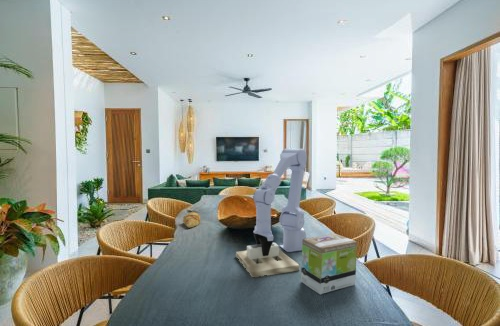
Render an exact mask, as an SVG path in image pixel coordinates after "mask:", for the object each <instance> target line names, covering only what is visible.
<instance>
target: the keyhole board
mask: <svg viewBox="0 0 500 326" xmlns="http://www.w3.org/2000/svg"><path fill="white" fill-rule="evenodd" d="M235 257H236V259H237V258H238V259H239V260H238V259H237V260H238V261H239V262H240V264H241V263H242V264H243V265H242V264H241V265H242V266H243V268H244V269H245V268H246V269H245V270H246V271H247V273H248V272H249V273H250V274H249V273H248V274H249V275H250V276H251V278H252V277H255V278H260V277H259V276H261V277H265V276H264V275H267V276H272V275H278V274H279V275H280V274H284V273H292V272H299V271H300V264H299V263H298V262H296V261H295V260H294V259H293V258H291V257H289V256H288V255H287V254H285V253H284V252H283V251H282V250H281V249H279V256H276V260H275V259H274V258H273V257H266V258H259V259H257V263H255V262H254V261H253V259H251V260H250V259H249V258H248V257H247V250H241V251H235ZM277 260H278V261H277Z"/></svg>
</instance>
